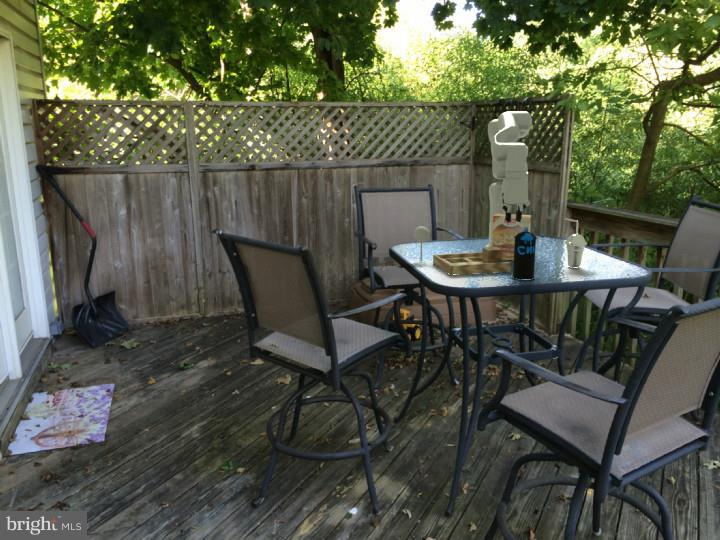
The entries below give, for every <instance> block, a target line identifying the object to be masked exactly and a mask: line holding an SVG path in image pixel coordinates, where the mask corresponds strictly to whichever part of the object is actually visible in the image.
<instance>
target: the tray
mask: <svg viewBox="0 0 720 540" xmlns="http://www.w3.org/2000/svg"><path fill="white" fill-rule="evenodd" d="M432 257H433V258H432V264H433V265H434V266H435V265H436V267H437V268H438V267H439V268H438V269H440V270H441V269H442V270H441V271H443V270H444V271H445V272H444V271H443V272H444V273H446V272H447V273H449V274H450V275H453V274H473V273H491V274H494V273H493V272H507V273H509V272H508V271H512V269H511V268H512V261H506V262H505V261H502V262H500V263H483V262H482V252H480V251H479V252H460V253H445V254H443V253H442V254H432ZM447 273H446V274H447ZM450 275H449V276H450Z"/></svg>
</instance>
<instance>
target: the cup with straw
mask: <svg viewBox="0 0 720 540" xmlns="http://www.w3.org/2000/svg"><path fill="white" fill-rule="evenodd" d="M564 220H565V221H568V222H573V223H576V228H575V233H573V234H571V235H569V236H568V238H567V239H566V240H565V242H564V244H565V246H566V250H567V252H566V253H567V265H568V266H570V267H579V266H581V265H582V264H581V263H582V259H583V254H584V250H585V246H587V245H588V243H587V241H586V240H585V238H584V236H583V235H582V234H580V233H579V221H578V220H575V219H571V218H566V217H564ZM568 266H567V267H568Z"/></svg>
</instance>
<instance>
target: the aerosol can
mask: <svg viewBox="0 0 720 540" xmlns="http://www.w3.org/2000/svg"><path fill="white" fill-rule="evenodd" d="M528 230H529V226H523V231H522V232H520V233H518V234H517V235H516V236H515V237H514V238H515V243H514V261H513V263H512V264H513V267H512V276H513V277H514V278H517V279H532V278H534V279H535V262H536V247H537V238H538V237H537V236H536V235H535V234H534V233H532V232H531V231H530V232H528Z"/></svg>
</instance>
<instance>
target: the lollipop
mask: <svg viewBox="0 0 720 540" xmlns="http://www.w3.org/2000/svg"><path fill="white" fill-rule="evenodd" d="M430 233H431V232H430V230H429V228H428V227H426V226H422V225H420V226H417V227H416V228H415V229H414V231H413V238H414V240H415V241H416V242H417V243H420V261H423V243H425V242H427V241H428V239H429V238H430V235H431V234H430Z"/></svg>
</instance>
